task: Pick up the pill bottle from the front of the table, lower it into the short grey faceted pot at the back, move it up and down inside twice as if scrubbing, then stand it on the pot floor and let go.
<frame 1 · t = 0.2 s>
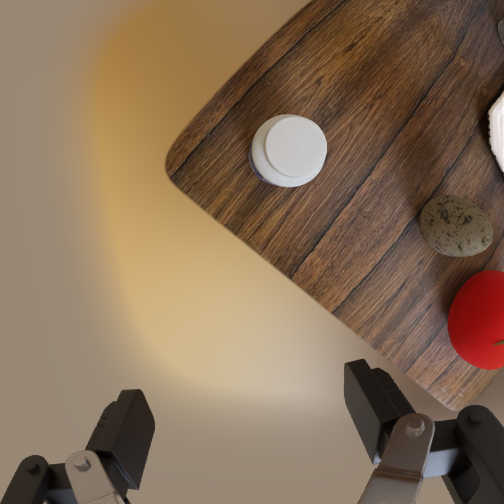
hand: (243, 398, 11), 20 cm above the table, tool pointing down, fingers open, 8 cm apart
decorative egg: (428, 219, 30), on the table
pill bottle: (277, 156, 28), on the table
tomato: (467, 304, 33), on the table
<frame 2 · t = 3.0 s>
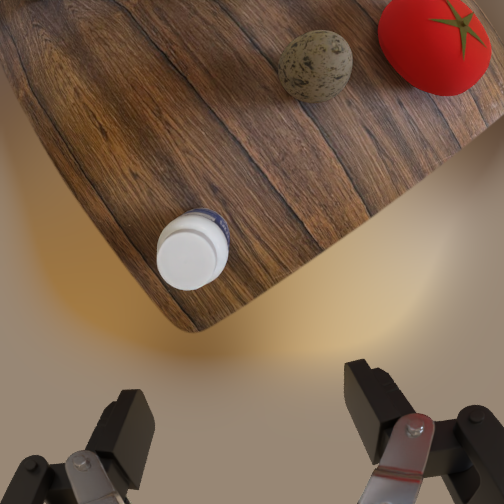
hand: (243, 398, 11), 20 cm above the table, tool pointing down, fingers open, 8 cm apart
decorative egg: (303, 82, 27), on the table
pill bottle: (202, 234, 30), on the table
tomato: (411, 54, 26), on the table
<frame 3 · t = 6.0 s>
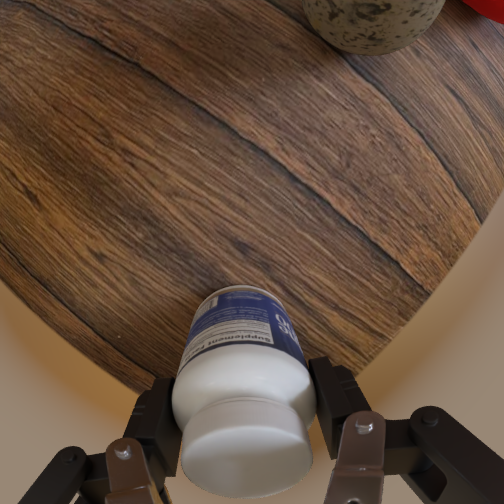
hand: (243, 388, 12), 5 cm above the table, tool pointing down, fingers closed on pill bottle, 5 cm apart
decorative egg: (341, 28, 14), on the table
pill bottle: (241, 326, 17), on the table, touching gripper
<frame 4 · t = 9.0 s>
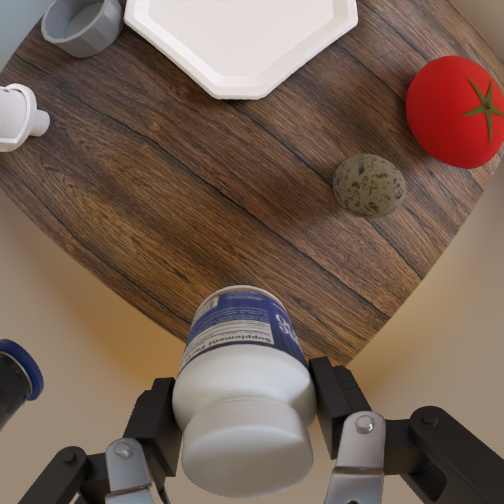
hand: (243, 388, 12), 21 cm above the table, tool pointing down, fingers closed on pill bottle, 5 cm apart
grey faceted pot: (93, 28, 25), on the table
decorative egg: (350, 184, 31), on the table
white ringed tube holder: (40, 123, 28), on the table
pill bottle: (241, 326, 17), point 16 cm above the table, touching gripper
tomato: (431, 116, 30), on the table
plate: (240, 5, 26), on the table
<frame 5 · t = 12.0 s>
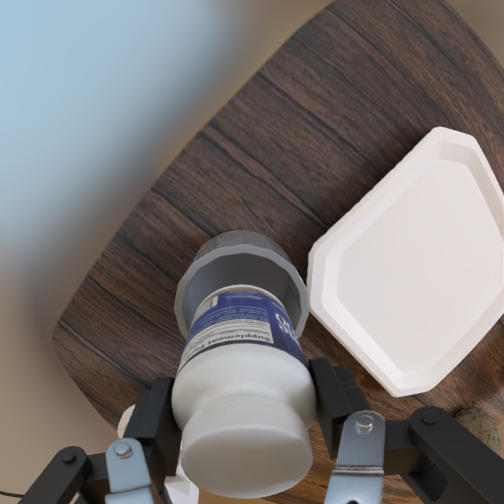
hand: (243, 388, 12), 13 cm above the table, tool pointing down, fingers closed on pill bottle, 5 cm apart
grey faceted pot: (240, 282, 24), on the table
decorative egg: (457, 414, 30), on the table
white ringed tube holder: (173, 392, 27), on the table
pill bottle: (241, 325, 17), point 7 cm above the table, touching gripper
plate: (431, 270, 25), on the table
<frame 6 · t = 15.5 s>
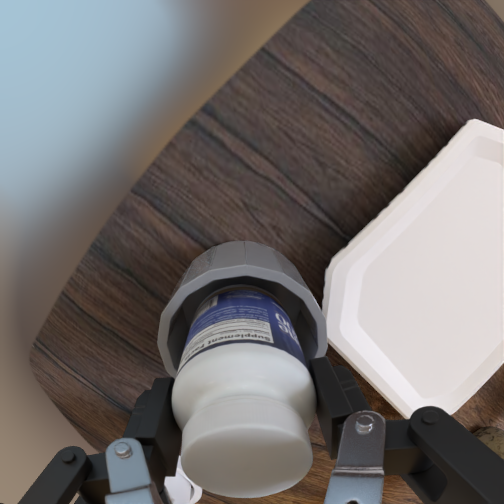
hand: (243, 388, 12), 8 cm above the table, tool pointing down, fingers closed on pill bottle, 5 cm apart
grey faceted pot: (241, 303, 20), on the table
decorative egg: (474, 433, 26), on the table
white ringed tube holder: (165, 422, 22), on the table
pill bottle: (241, 325, 17), point 3 cm above the table, touching gripper
plate: (460, 284, 21), on the table
when the fingers open (6 cm above the table, at t = 18.1 s): pill bottle stays where it is, resting on grey faceted pot.
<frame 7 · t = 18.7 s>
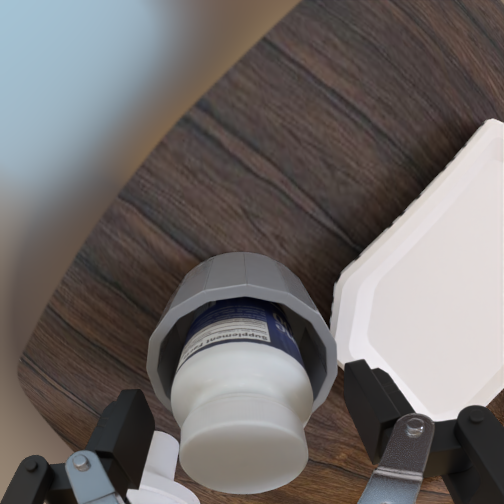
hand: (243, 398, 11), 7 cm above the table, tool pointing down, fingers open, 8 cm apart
grey faceted pot: (240, 320, 18), on the table
white ringed tube holder: (160, 441, 20), on the table
pill bottle: (240, 325, 18), resting on grey faceted pot
plate: (474, 295, 19), on the table
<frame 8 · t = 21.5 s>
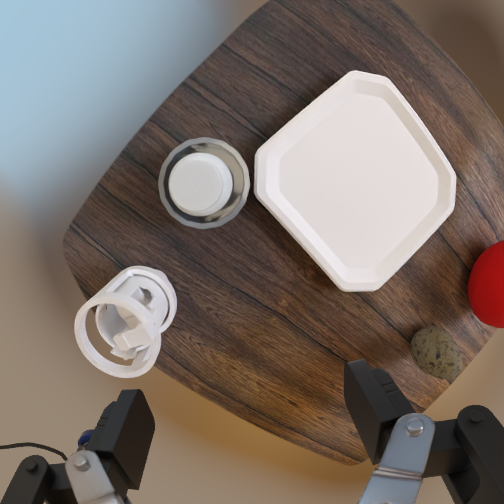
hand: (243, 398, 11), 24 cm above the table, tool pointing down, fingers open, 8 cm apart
grey faceted pot: (208, 182, 33), on the table
decorative egg: (419, 335, 39), on the table
white ringed tube holder: (156, 281, 35), on the table
pill bottle: (207, 183, 32), resting on grey faceted pot
tomato: (482, 274, 37), on the table
plate: (362, 180, 33), on the table
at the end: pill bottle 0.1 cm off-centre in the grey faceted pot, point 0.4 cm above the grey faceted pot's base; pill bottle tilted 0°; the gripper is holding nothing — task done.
